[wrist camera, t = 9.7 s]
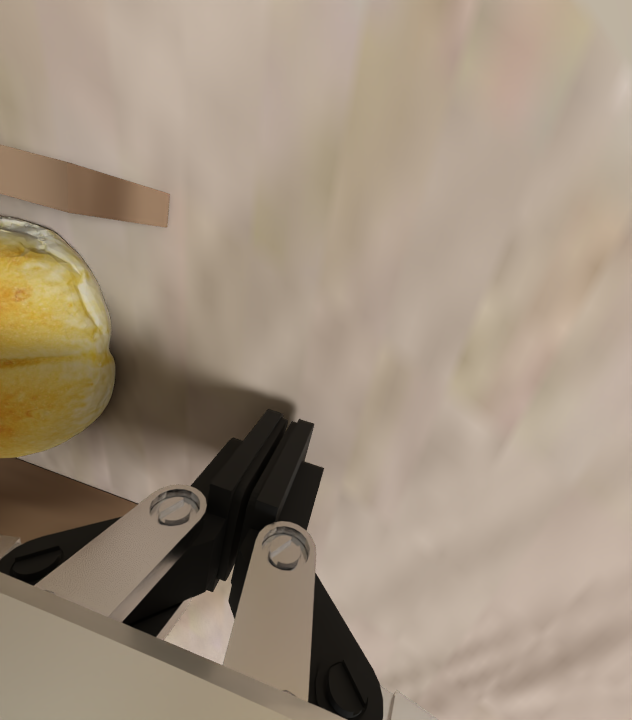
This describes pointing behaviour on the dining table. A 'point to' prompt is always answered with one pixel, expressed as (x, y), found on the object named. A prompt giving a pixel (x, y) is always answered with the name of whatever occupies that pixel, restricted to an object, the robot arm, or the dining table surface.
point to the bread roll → (49, 341)
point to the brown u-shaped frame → (93, 198)
